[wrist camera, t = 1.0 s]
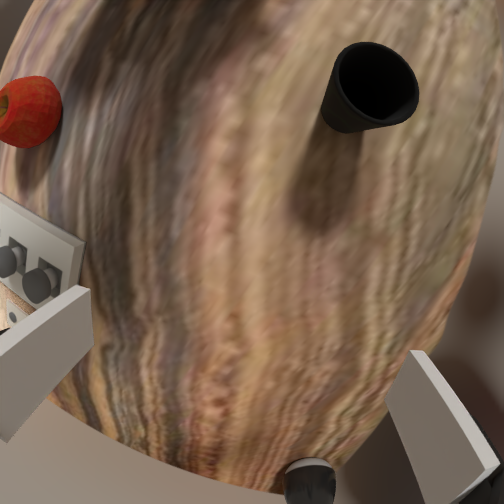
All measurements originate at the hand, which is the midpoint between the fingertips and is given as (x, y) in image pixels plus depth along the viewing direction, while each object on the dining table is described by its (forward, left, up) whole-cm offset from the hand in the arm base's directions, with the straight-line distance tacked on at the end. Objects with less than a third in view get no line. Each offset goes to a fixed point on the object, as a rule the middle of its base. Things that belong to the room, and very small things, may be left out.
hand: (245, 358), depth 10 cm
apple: (-29, -24, -25) cm, 45 cm away
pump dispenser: (+46, -8, -25) cm, 52 cm away
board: (-11, -37, -25) cm, 45 cm away
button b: (-11, -37, -22) cm, 44 cm away
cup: (-10, +14, -25) cm, 31 cm away
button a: (-6, -31, -22) cm, 39 cm away
